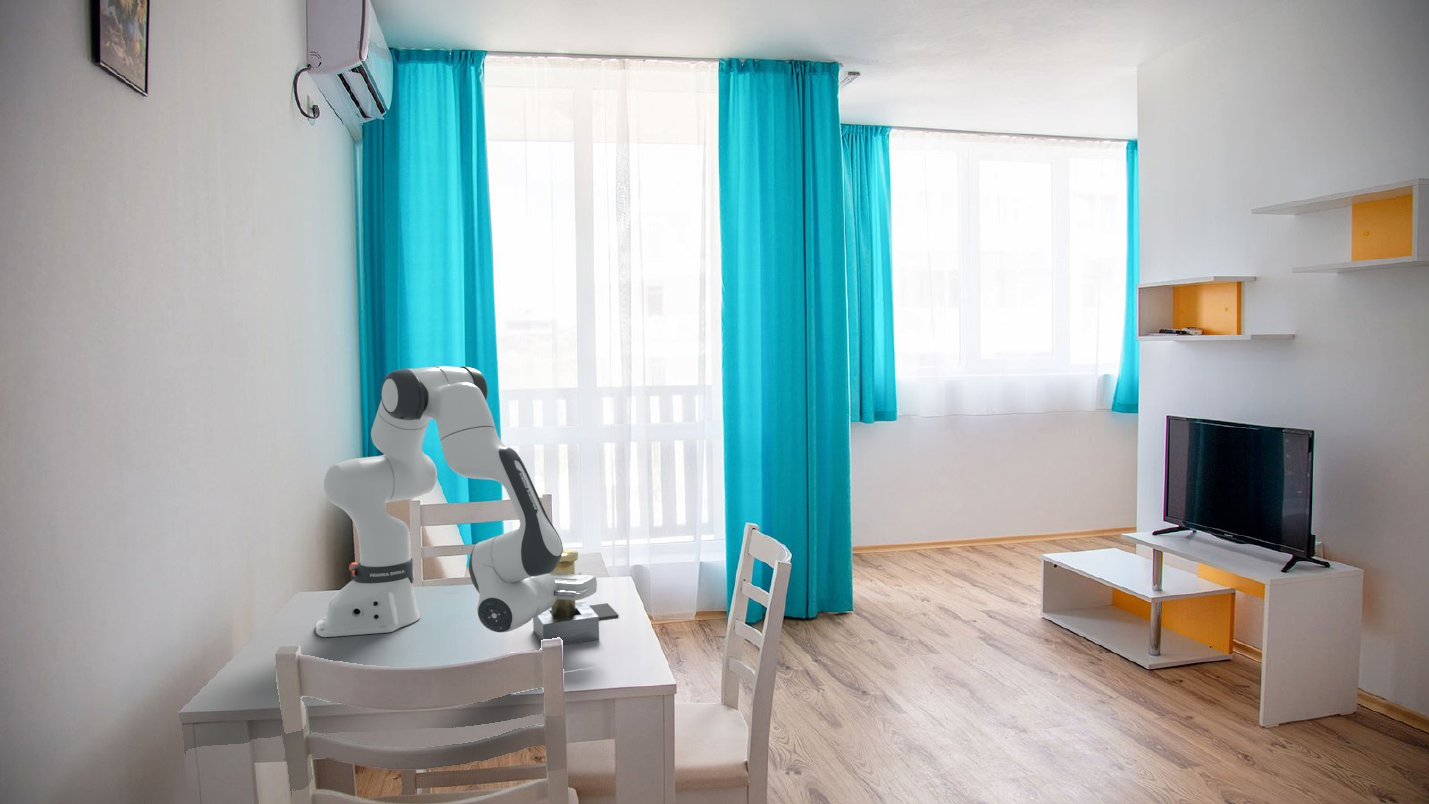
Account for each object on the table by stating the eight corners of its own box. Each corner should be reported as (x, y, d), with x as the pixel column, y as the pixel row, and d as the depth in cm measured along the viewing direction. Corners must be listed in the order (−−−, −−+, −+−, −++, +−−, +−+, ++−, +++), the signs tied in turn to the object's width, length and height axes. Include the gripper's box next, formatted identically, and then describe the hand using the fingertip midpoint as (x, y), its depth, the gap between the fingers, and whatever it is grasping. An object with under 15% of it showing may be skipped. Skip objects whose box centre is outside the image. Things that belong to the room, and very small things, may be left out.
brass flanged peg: (551, 619, 181) (549, 559, 180) (545, 610, 187) (543, 551, 186) (582, 615, 183) (580, 555, 182) (575, 606, 189) (574, 548, 189)
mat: (576, 623, 194) (576, 620, 194) (567, 610, 203) (566, 608, 203) (618, 617, 198) (618, 614, 197) (607, 605, 207) (607, 603, 207)
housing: (543, 647, 178) (543, 624, 178) (533, 630, 189) (532, 608, 189) (599, 639, 182) (598, 616, 182) (586, 623, 194) (585, 601, 193)
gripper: (581, 580, 169) (608, 563, 182) (490, 573, 175) (523, 558, 188) (581, 611, 170) (608, 592, 183) (491, 603, 175) (523, 585, 188)
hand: (564, 574), depth 185 cm, fingers closed on brass flanged peg, 5 cm apart
